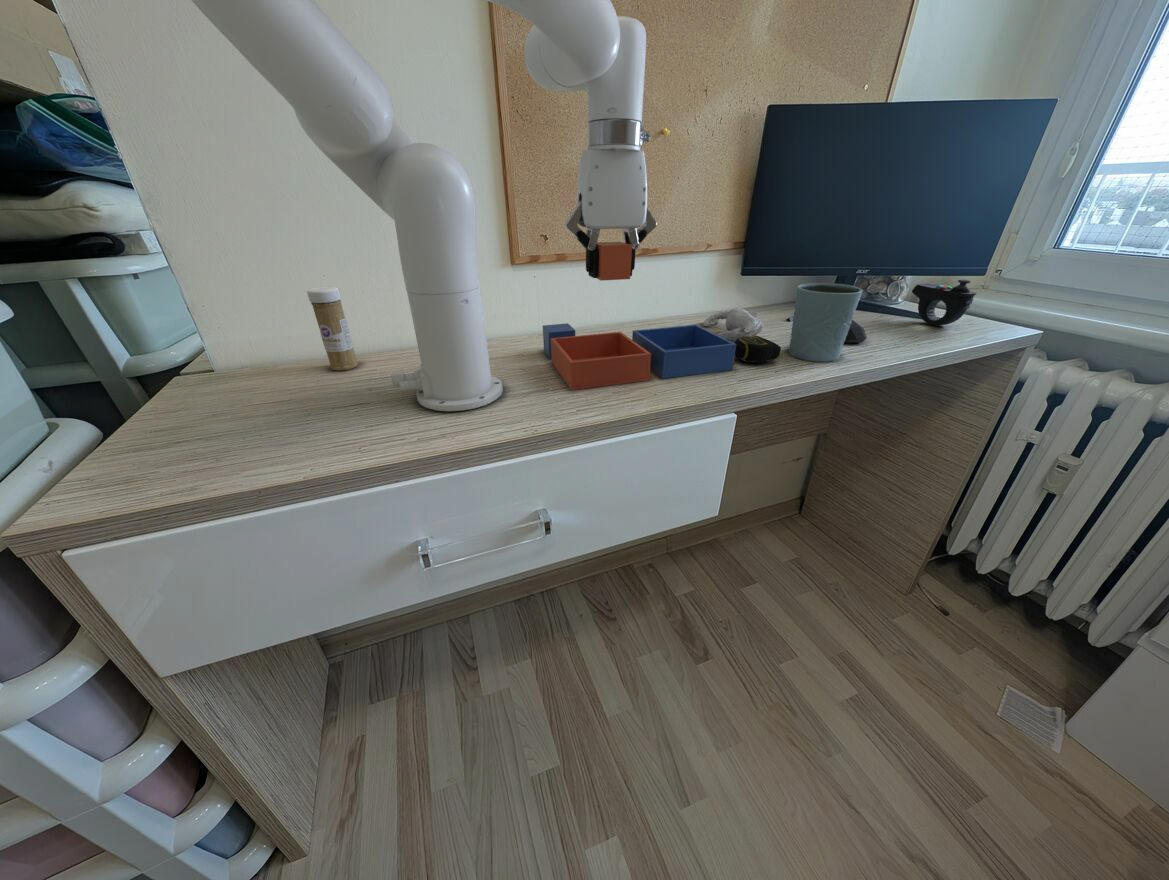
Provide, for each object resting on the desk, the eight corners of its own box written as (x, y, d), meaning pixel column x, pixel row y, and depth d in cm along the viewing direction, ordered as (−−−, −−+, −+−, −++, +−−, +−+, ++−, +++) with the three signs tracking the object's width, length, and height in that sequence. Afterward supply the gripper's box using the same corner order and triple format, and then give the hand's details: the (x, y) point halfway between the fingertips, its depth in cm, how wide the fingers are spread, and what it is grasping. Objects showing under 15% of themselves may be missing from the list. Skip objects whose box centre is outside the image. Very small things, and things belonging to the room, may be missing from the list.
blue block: (549, 359, 80) (548, 332, 77) (543, 351, 84) (542, 325, 81) (575, 356, 81) (575, 330, 79) (568, 348, 85) (568, 323, 83)
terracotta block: (600, 280, 67) (601, 245, 65) (590, 275, 72) (590, 242, 69) (630, 279, 69) (632, 244, 66) (618, 274, 73) (620, 241, 70)
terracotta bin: (571, 390, 67) (570, 362, 65) (551, 362, 78) (550, 338, 76) (649, 380, 70) (651, 353, 68) (620, 355, 81) (620, 331, 79)
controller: (950, 331, 93) (970, 283, 88) (899, 318, 104) (914, 273, 99) (965, 329, 94) (986, 281, 90) (913, 316, 105) (929, 272, 100)
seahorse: (682, 320, 99) (736, 330, 81) (724, 298, 100) (786, 303, 82) (688, 341, 101) (741, 355, 83) (729, 319, 103) (791, 329, 85)
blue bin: (662, 378, 71) (664, 352, 69) (631, 354, 82) (632, 330, 80) (732, 369, 74) (736, 344, 72) (693, 347, 85) (696, 324, 83)
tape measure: (780, 364, 77) (784, 343, 75) (747, 368, 75) (751, 347, 73) (755, 352, 82) (759, 332, 81) (724, 356, 81) (727, 336, 79)
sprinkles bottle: (326, 371, 75) (300, 291, 68) (338, 362, 79) (314, 285, 72) (352, 371, 75) (329, 290, 68) (363, 362, 79) (342, 285, 72)
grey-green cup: (846, 365, 76) (868, 294, 70) (784, 359, 79) (800, 291, 73) (837, 348, 84) (856, 283, 78) (781, 343, 87) (795, 280, 81)
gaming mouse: (818, 324, 99) (822, 306, 97) (872, 343, 87) (879, 323, 85) (794, 327, 97) (799, 308, 95) (847, 346, 85) (853, 326, 83)
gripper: (657, 144, 66) (648, 270, 75) (549, 140, 62) (553, 274, 71) (681, 139, 60) (668, 277, 69) (562, 134, 56) (565, 282, 65)
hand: (610, 274), depth 70 cm, fingers closed on terracotta block, 5 cm apart
